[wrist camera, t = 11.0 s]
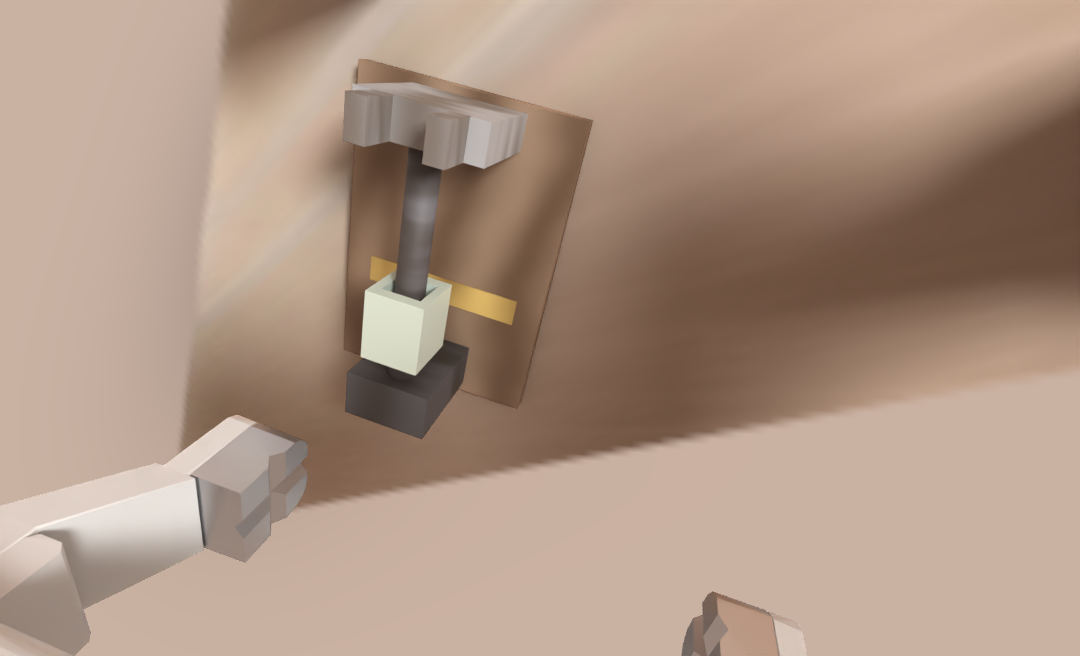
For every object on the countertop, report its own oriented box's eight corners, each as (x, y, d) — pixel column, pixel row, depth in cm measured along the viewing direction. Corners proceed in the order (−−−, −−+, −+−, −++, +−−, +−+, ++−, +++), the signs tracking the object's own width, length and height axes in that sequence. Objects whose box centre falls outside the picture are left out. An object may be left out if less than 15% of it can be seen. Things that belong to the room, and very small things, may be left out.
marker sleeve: (452, 284, 36) (424, 309, 32) (442, 345, 38) (415, 375, 34) (398, 267, 36) (365, 290, 33) (392, 329, 39) (360, 356, 35)
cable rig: (592, 120, 34) (555, 138, 24) (521, 401, 45) (475, 490, 35) (368, 59, 36) (251, 53, 26) (351, 343, 47) (264, 412, 37)
